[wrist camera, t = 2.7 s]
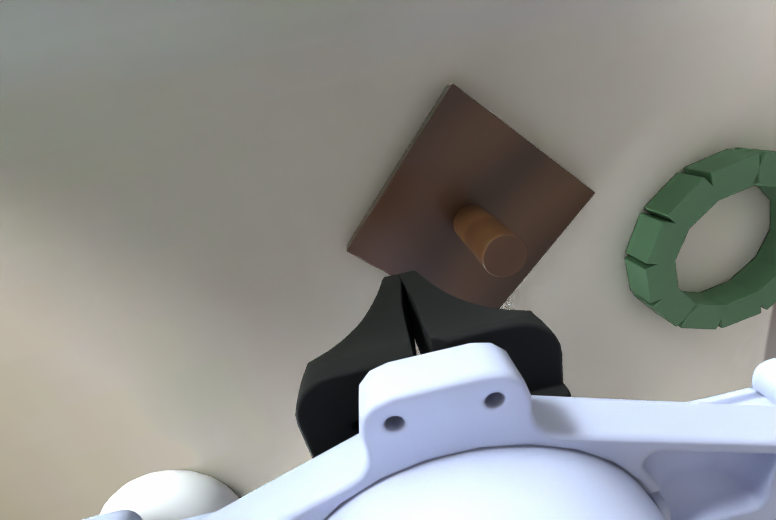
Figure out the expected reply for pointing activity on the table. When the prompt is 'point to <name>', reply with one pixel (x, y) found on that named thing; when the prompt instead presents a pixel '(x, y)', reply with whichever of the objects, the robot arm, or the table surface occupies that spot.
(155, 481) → the donut
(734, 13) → the table surface
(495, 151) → the post
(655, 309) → the ring
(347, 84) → the table surface
